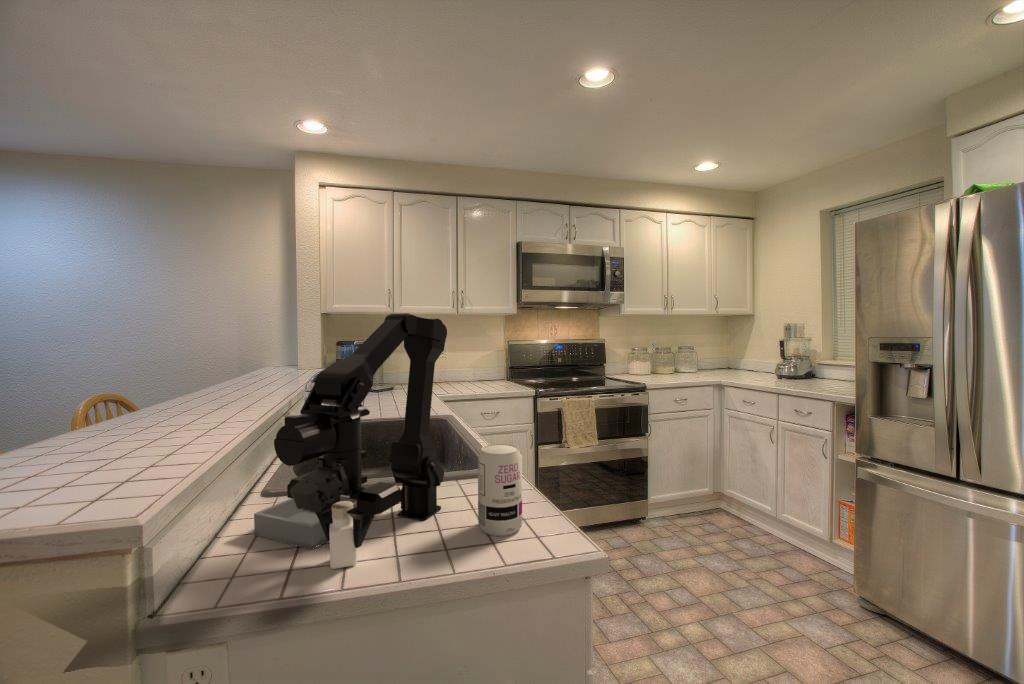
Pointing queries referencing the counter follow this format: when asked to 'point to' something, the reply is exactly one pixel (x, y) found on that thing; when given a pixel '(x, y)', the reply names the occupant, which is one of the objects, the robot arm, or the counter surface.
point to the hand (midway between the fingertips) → (344, 543)
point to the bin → (291, 524)
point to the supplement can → (500, 489)
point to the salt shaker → (342, 536)
